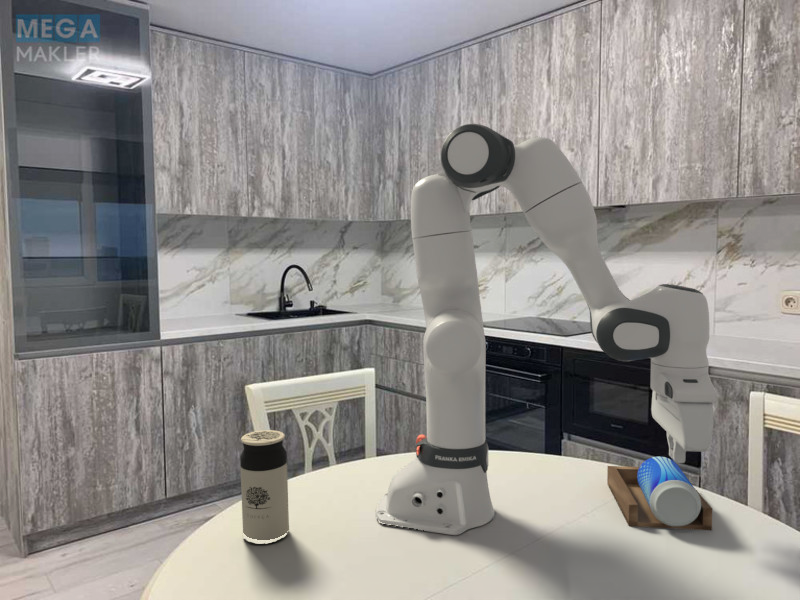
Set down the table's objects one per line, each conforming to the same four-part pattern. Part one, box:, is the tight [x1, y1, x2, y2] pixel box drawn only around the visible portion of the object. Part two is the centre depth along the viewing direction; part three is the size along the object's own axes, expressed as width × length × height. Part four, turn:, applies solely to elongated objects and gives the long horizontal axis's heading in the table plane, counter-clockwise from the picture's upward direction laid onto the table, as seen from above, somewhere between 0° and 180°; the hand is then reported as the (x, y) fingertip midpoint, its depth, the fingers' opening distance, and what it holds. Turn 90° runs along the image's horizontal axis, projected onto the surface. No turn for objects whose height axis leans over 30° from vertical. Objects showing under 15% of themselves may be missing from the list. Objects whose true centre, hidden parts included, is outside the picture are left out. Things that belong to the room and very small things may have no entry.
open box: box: [606, 465, 713, 531], centre depth 115 cm, size 14×20×4 cm
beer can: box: [637, 456, 701, 527], centre depth 111 cm, size 8×8×16 cm
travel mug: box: [239, 429, 290, 540], centre depth 104 cm, size 8×8×18 cm
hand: (676, 460), depth 101 cm, fingers closed
